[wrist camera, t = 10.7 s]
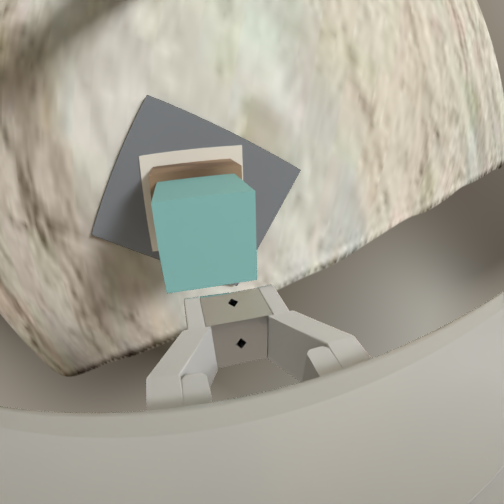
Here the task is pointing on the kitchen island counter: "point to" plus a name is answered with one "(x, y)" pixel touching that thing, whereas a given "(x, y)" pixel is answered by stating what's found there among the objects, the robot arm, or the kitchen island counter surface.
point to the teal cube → (205, 231)
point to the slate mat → (173, 152)
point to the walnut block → (193, 171)
